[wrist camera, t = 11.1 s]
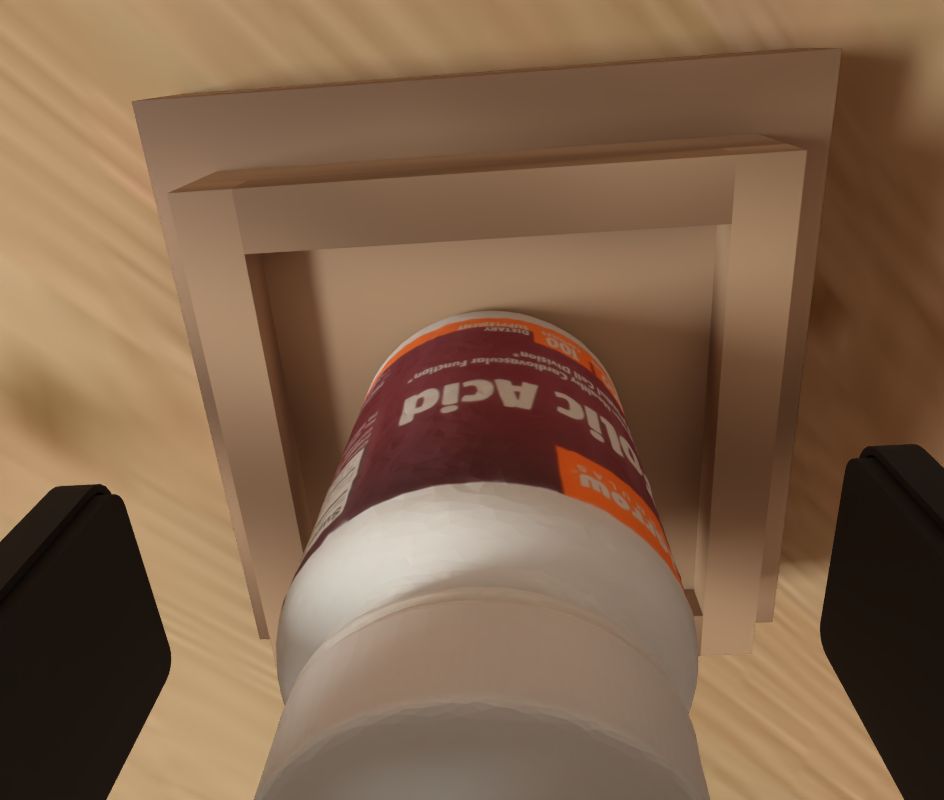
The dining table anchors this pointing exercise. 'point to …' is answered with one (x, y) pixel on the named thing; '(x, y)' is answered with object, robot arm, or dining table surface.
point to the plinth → (510, 276)
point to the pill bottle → (487, 591)
